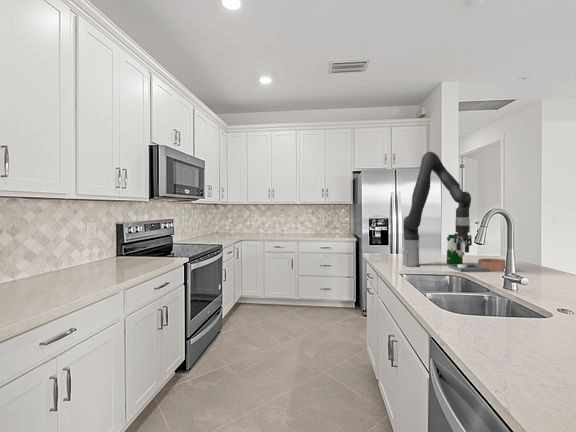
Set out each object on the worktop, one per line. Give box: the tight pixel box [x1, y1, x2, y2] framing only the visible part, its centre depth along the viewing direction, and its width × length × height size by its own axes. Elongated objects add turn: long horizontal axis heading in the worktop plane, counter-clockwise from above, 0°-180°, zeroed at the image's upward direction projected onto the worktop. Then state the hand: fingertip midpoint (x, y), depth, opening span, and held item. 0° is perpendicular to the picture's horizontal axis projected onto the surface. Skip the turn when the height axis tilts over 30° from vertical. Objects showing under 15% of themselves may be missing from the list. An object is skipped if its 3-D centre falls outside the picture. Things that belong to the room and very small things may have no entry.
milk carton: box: [445, 234, 464, 265], centre depth 209 cm, size 9×9×20 cm
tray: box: [448, 263, 491, 273], centre depth 189 cm, size 16×14×2 cm
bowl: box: [477, 258, 506, 273], centre depth 191 cm, size 18×18×6 cm
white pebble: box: [456, 263, 467, 269], centre depth 189 cm, size 5×5×3 cm
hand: (462, 251), depth 189 cm, fingers open, 8 cm apart
